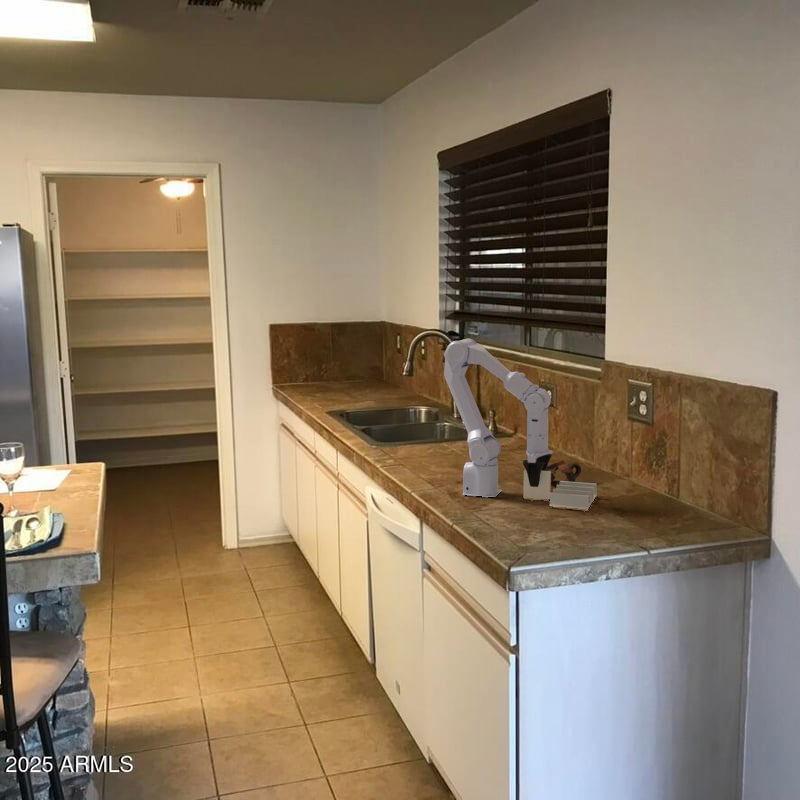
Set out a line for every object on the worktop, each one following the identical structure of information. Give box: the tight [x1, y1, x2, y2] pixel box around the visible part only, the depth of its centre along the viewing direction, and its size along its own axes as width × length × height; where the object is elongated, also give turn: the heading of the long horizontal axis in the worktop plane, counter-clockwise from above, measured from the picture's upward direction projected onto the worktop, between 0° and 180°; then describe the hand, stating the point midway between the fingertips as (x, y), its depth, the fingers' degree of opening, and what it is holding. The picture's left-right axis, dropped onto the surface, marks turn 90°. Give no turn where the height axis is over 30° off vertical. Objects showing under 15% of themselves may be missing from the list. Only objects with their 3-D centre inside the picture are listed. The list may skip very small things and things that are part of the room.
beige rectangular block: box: [522, 468, 552, 500], centre depth 237 cm, size 7×2×8 cm, turn 69°
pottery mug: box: [546, 459, 582, 482], centre depth 254 cm, size 12×10×8 cm
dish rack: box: [549, 480, 598, 511], centre depth 233 cm, size 10×15×4 cm, turn 159°
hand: (537, 483), depth 237 cm, fingers open, 7 cm apart
